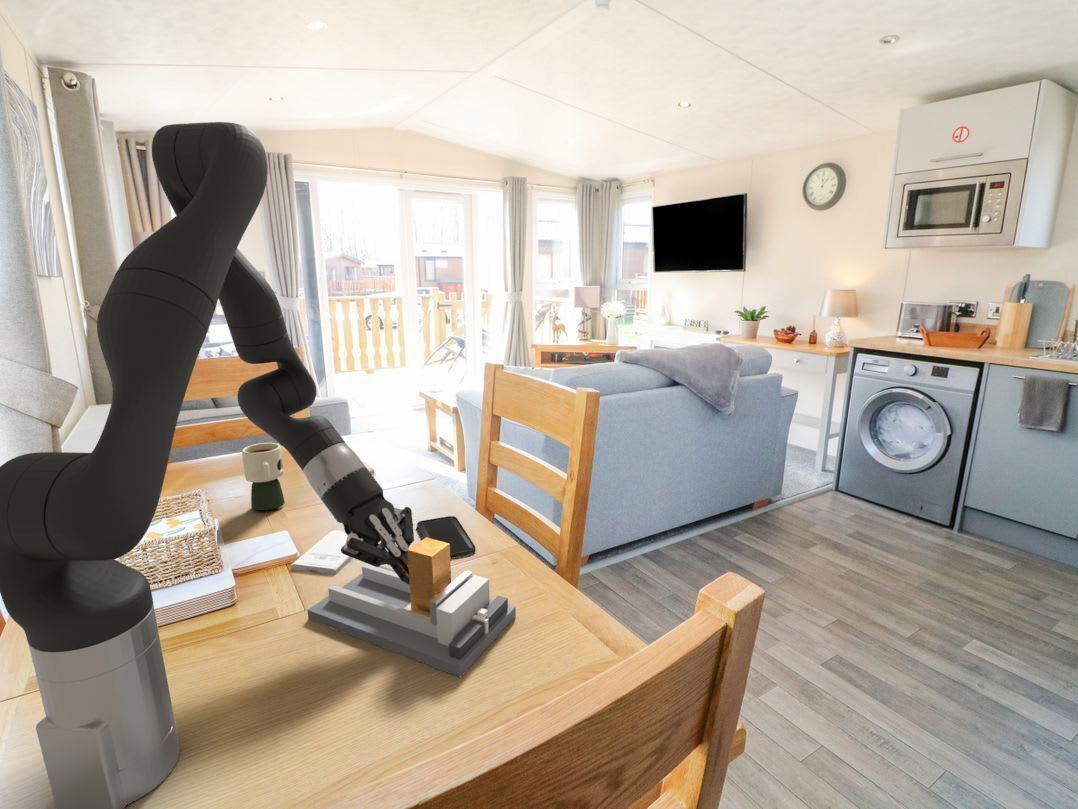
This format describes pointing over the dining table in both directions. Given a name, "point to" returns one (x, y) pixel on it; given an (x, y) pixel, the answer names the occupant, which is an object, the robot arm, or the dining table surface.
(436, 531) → the phone
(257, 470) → the character mug
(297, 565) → the external hard drive
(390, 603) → the bench vise
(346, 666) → the dining table surface
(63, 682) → the robot arm
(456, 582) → the block
